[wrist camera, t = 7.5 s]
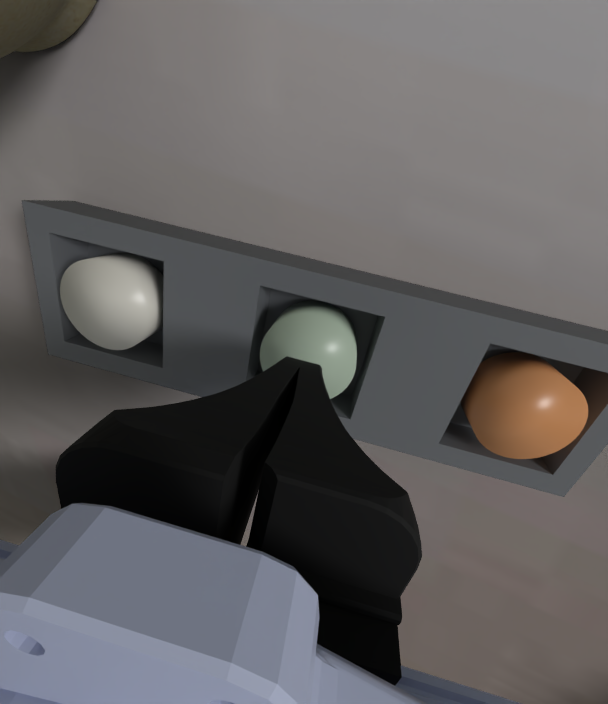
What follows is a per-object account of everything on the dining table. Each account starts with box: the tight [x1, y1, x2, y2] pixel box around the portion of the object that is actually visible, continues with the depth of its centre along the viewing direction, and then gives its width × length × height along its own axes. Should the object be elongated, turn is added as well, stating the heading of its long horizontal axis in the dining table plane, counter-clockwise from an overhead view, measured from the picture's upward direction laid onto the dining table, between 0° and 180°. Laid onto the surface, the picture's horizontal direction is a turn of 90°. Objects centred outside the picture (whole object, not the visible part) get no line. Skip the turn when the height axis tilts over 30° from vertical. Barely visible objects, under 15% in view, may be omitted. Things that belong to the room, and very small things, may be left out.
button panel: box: [22, 200, 608, 497], centre depth 15 cm, size 25×7×2 cm, turn 78°
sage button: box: [260, 300, 357, 399], centre depth 14 cm, size 4×4×2 cm
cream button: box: [60, 252, 164, 350], centre depth 15 cm, size 4×4×2 cm
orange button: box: [460, 352, 588, 459], centre depth 13 cm, size 4×4×2 cm
